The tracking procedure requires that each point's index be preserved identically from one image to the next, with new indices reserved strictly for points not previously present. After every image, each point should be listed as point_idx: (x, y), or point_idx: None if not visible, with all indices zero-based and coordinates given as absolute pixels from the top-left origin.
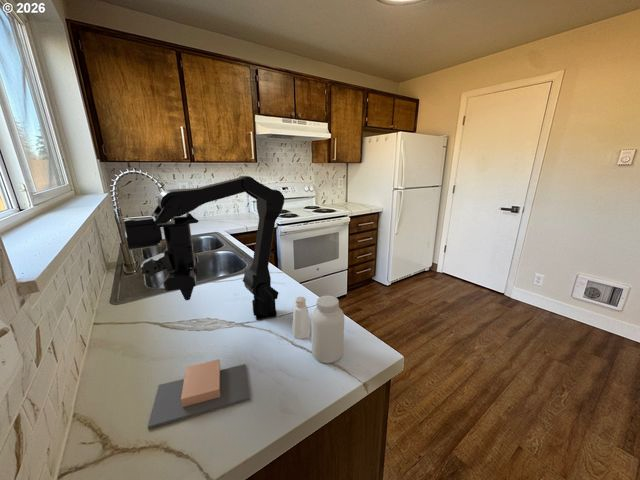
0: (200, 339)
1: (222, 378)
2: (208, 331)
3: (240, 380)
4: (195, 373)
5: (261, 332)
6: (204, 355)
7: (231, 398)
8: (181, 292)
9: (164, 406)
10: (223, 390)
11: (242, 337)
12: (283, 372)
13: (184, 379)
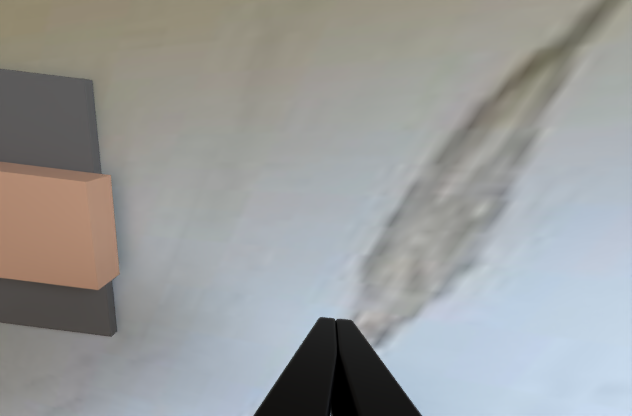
0: (319, 223)
1: None
2: (361, 255)
3: (45, 313)
4: (42, 211)
5: None
6: (212, 229)
7: None
8: (268, 395)
9: None
10: None
11: (263, 351)
12: (66, 401)
13: (18, 175)
